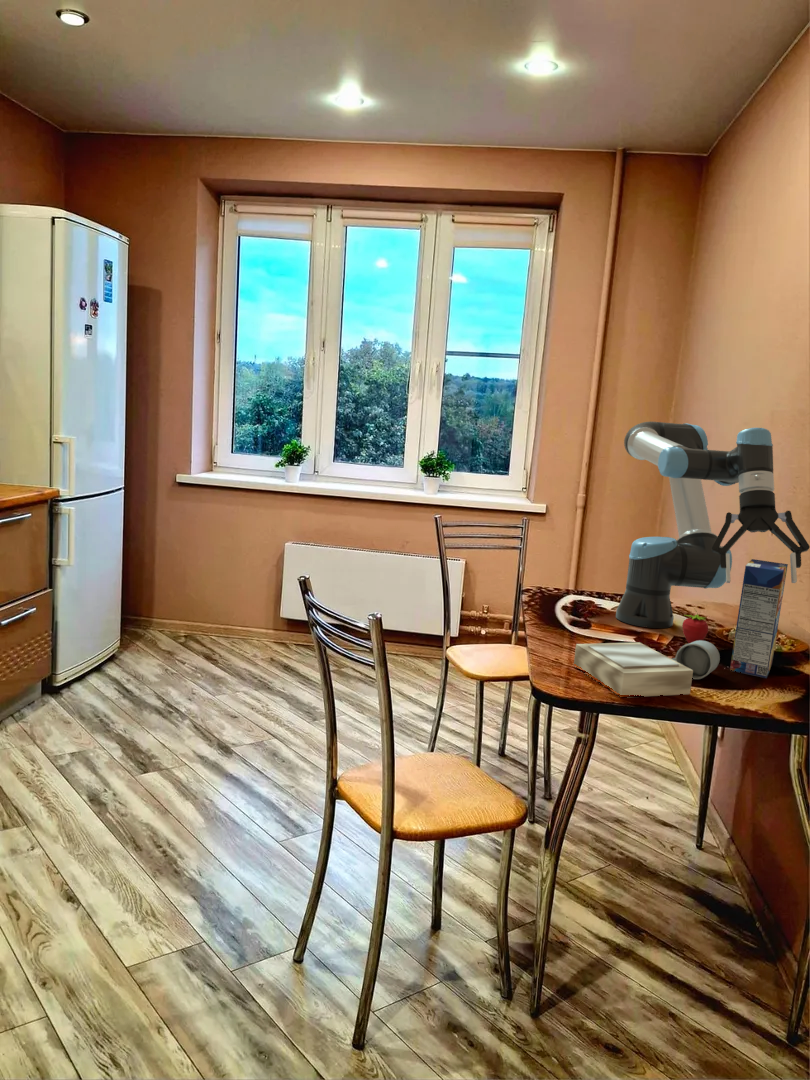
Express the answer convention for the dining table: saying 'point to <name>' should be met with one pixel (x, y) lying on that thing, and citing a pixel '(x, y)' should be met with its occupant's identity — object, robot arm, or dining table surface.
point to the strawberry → (694, 628)
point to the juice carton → (758, 617)
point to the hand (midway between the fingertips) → (760, 582)
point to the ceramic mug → (698, 658)
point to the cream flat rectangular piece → (634, 669)
